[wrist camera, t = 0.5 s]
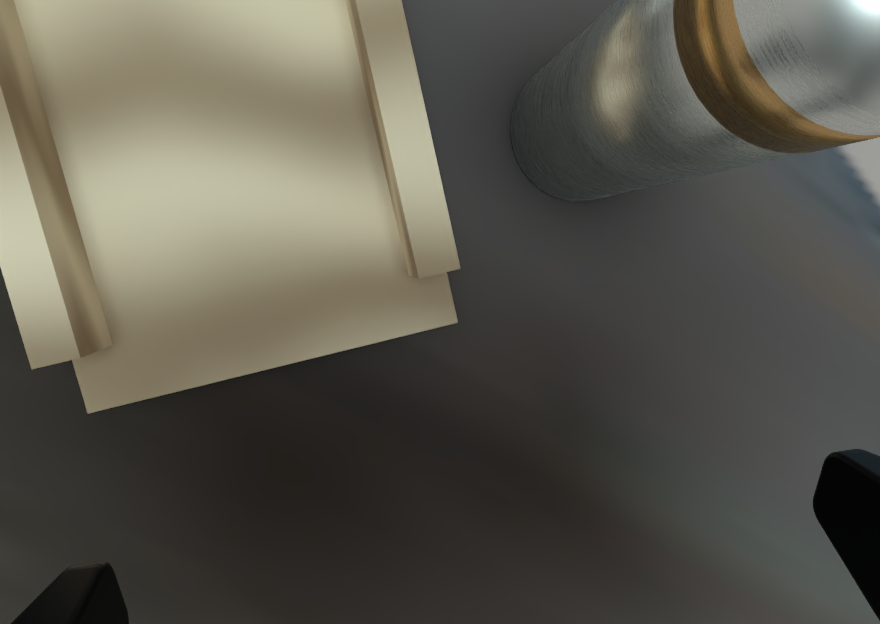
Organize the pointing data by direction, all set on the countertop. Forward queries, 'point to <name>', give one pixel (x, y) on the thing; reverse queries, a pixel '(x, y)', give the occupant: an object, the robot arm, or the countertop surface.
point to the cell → (697, 92)
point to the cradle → (214, 187)
